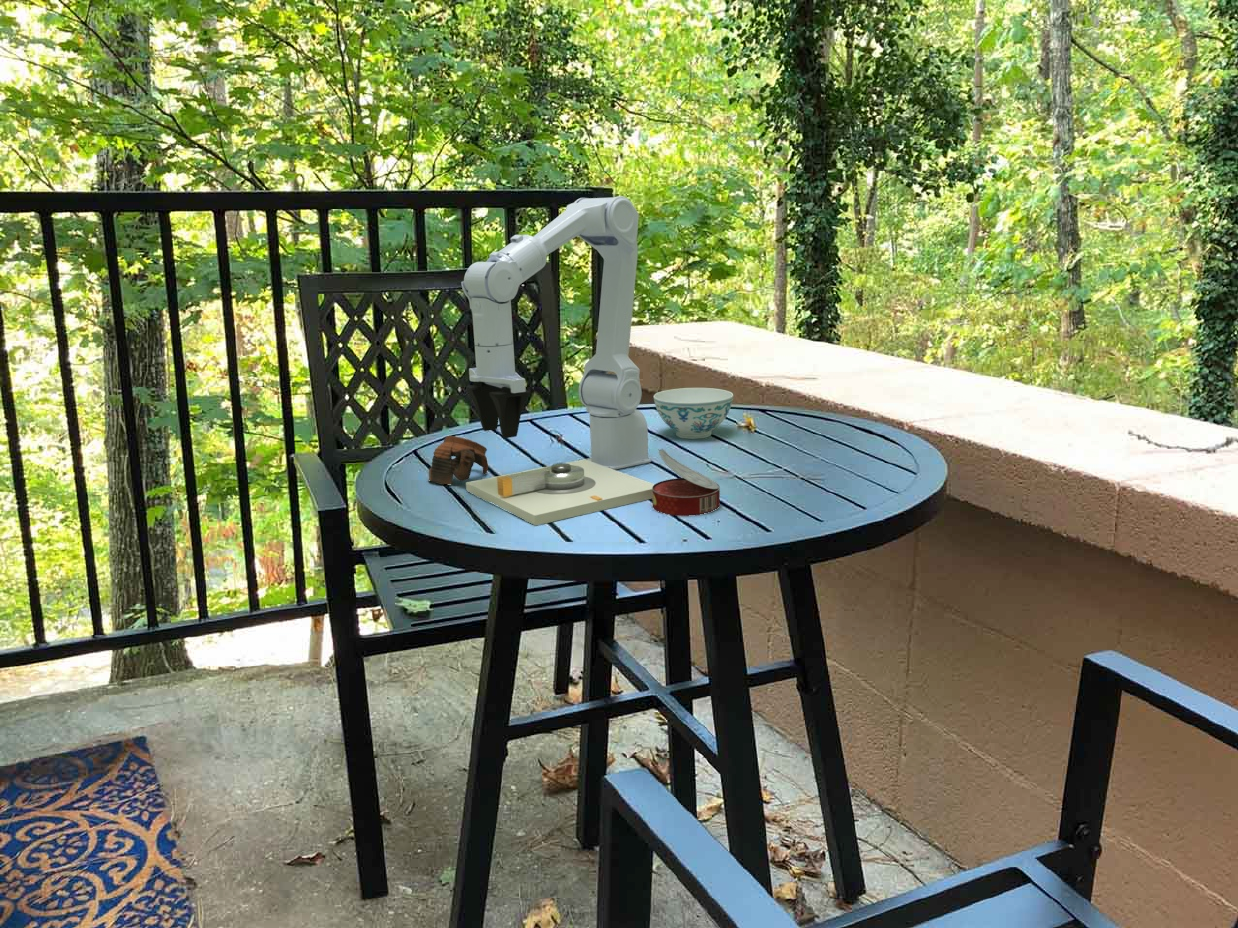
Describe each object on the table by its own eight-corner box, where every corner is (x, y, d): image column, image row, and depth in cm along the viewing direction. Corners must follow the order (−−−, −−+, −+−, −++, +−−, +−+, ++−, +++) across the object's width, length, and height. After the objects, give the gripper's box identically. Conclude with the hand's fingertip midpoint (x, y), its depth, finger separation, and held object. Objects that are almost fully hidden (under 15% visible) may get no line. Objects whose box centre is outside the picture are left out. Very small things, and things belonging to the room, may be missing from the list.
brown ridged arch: (417, 481, 164) (432, 434, 166) (469, 498, 168) (483, 452, 170) (438, 478, 153) (454, 429, 155) (493, 497, 157) (508, 448, 159)
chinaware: (737, 442, 180) (736, 401, 178) (655, 445, 181) (654, 403, 179) (729, 425, 195) (729, 386, 193) (654, 427, 195) (653, 388, 193)
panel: (584, 467, 167) (584, 458, 166) (662, 496, 149) (661, 485, 149) (466, 491, 155) (465, 481, 154) (535, 525, 137) (534, 514, 137)
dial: (569, 474, 156) (568, 457, 156) (593, 484, 151) (592, 466, 150) (490, 490, 149) (488, 473, 148) (512, 501, 143) (510, 482, 142)
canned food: (673, 526, 150) (685, 463, 152) (728, 531, 144) (740, 465, 145) (628, 509, 142) (641, 442, 143) (685, 513, 135) (697, 443, 137)
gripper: (448, 342, 150) (455, 429, 153) (492, 352, 138) (498, 446, 141) (490, 337, 153) (495, 422, 157) (536, 346, 142) (541, 438, 145)
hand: (499, 433), depth 149 cm, fingers open, 6 cm apart
